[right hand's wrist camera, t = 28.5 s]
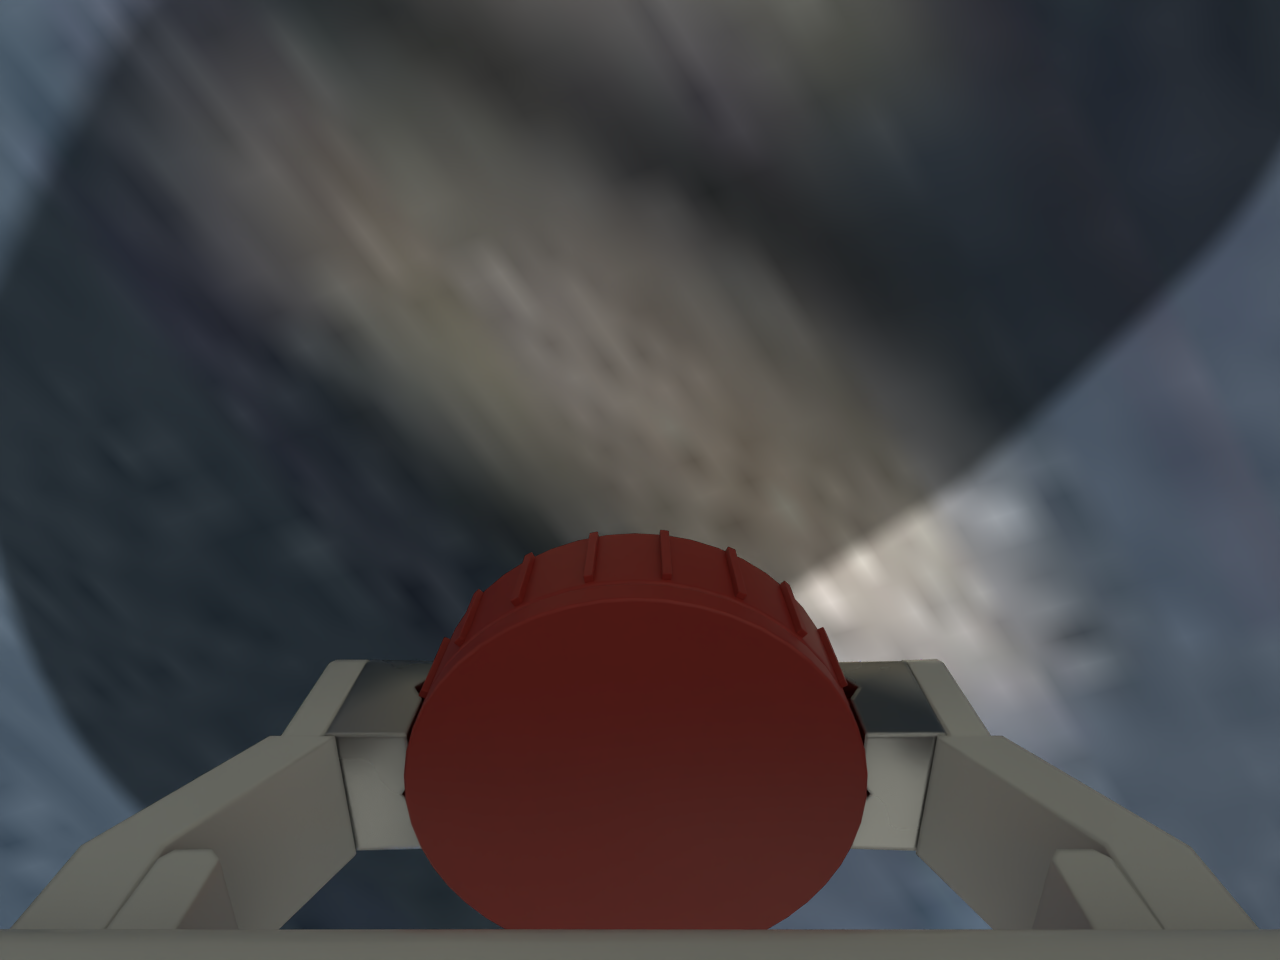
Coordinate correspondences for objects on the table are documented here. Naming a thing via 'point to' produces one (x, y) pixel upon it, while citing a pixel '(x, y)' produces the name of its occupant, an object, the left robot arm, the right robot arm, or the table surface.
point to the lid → (635, 744)
